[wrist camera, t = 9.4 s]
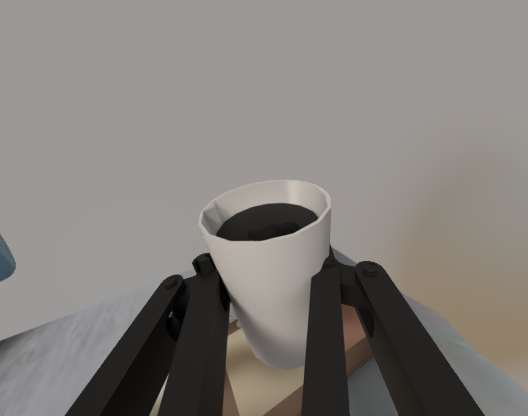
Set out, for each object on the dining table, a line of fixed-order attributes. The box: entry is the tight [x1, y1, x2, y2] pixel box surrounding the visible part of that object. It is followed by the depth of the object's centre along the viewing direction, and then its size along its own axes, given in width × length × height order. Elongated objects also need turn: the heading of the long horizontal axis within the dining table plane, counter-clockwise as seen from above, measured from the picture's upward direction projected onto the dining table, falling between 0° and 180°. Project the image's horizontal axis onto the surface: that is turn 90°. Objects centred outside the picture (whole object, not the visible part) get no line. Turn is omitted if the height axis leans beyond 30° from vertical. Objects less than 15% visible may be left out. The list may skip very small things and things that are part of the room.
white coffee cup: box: [198, 180, 331, 371], centre depth 13 cm, size 7×7×10 cm
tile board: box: [149, 304, 374, 416], centre depth 24 cm, size 12×32×1 cm, turn 117°
